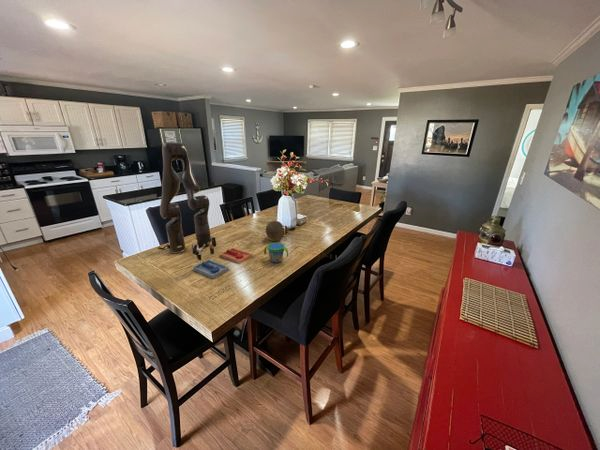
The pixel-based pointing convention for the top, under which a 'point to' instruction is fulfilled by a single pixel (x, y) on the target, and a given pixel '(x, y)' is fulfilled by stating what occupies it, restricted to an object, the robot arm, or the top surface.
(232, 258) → the red tray
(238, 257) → the red spoon
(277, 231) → the brown ball
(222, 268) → the blue tray
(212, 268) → the blue spoon
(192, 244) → the robot arm
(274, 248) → the snack cup
